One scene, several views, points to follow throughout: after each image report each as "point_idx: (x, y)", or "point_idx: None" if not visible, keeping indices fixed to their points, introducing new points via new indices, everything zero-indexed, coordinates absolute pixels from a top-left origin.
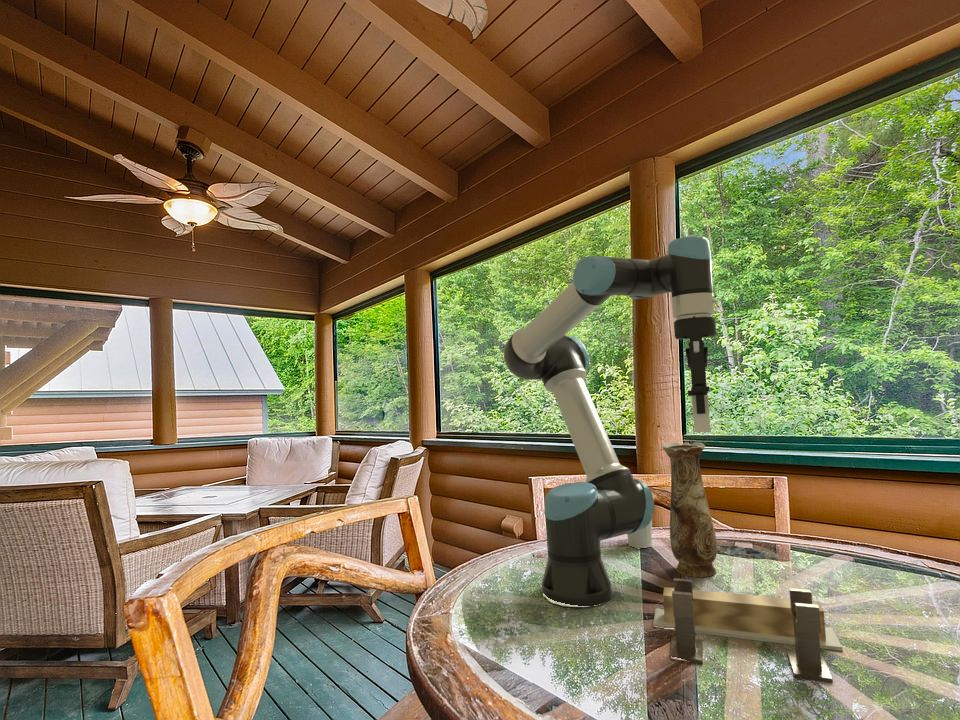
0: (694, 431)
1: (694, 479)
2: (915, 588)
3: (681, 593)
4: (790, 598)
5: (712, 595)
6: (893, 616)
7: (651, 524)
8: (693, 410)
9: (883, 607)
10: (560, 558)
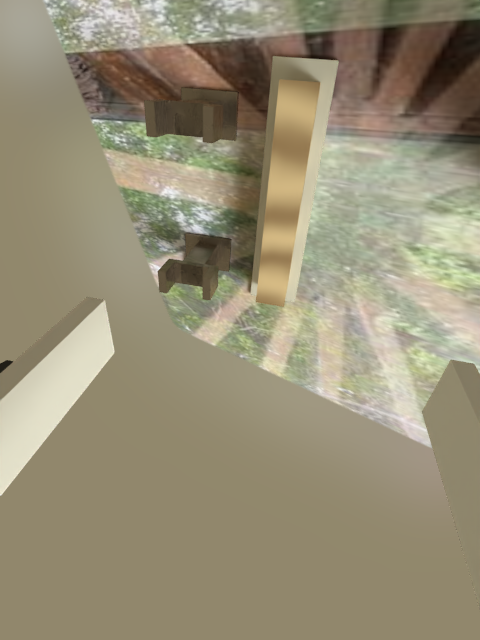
0: (86, 299)
1: None
2: (414, 414)
3: (148, 118)
4: (208, 273)
5: (289, 174)
6: (337, 365)
7: None
8: (17, 363)
9: (361, 367)
10: None
